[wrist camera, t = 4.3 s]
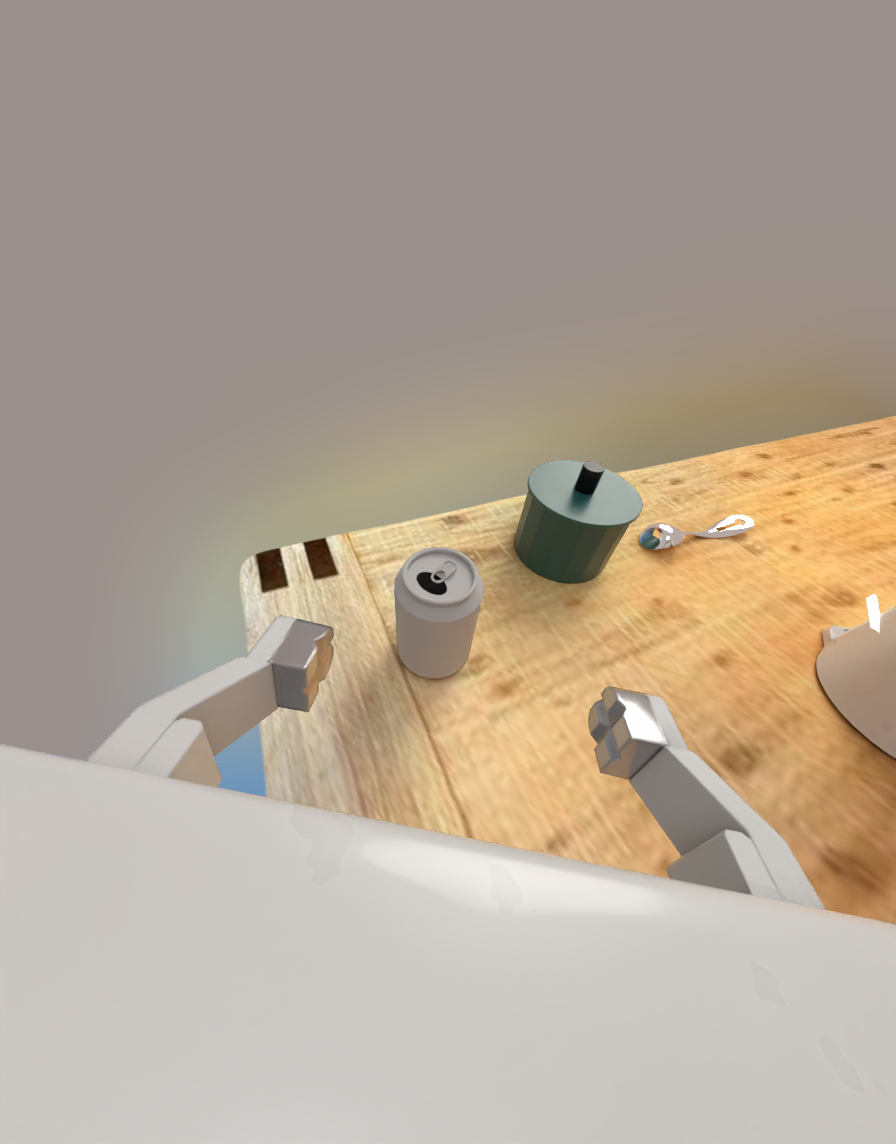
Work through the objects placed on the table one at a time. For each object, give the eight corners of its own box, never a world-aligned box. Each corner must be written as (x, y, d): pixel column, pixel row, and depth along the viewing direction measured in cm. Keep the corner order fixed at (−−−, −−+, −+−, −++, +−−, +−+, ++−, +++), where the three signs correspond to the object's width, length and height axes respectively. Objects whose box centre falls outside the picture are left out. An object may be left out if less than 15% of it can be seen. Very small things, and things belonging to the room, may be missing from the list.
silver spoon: (746, 498, 55) (773, 517, 52) (732, 516, 57) (757, 535, 54) (639, 521, 50) (662, 543, 47) (629, 540, 53) (650, 561, 50)
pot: (569, 515, 55) (592, 460, 48) (622, 571, 47) (659, 514, 40) (499, 530, 51) (513, 472, 44) (544, 593, 43) (570, 535, 36)
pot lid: (591, 462, 49) (603, 433, 46) (663, 520, 40) (683, 490, 37) (506, 475, 45) (513, 444, 42) (567, 543, 36) (581, 511, 33)
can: (382, 648, 36) (373, 569, 28) (432, 608, 40) (439, 528, 32) (434, 698, 33) (442, 626, 24) (483, 649, 37) (505, 572, 28)
